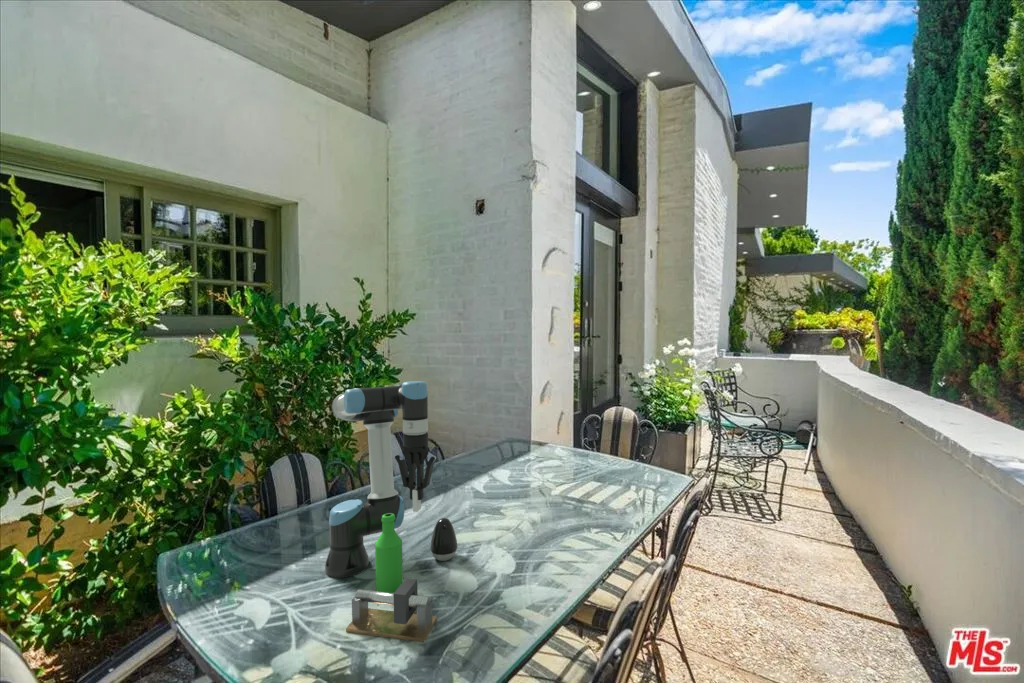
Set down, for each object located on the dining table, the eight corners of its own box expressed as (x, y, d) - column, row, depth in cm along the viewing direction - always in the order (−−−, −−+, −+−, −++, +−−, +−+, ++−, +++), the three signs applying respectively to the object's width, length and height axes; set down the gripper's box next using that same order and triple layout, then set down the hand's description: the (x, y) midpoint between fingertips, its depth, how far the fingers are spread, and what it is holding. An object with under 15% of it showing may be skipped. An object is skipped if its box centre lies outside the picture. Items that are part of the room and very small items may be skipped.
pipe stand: (345, 631, 130) (345, 599, 130) (364, 610, 140) (363, 580, 140) (423, 642, 125) (423, 608, 125) (436, 619, 135) (436, 588, 135)
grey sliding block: (394, 623, 128) (393, 593, 128) (406, 605, 136) (406, 577, 136) (405, 624, 127) (405, 595, 127) (417, 606, 136) (417, 579, 135)
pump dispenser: (432, 566, 166) (431, 525, 166) (429, 553, 176) (428, 514, 176) (459, 562, 169) (458, 522, 169) (455, 549, 179) (454, 511, 179)
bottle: (405, 580, 157) (404, 509, 156) (399, 595, 148) (398, 519, 148) (379, 581, 157) (378, 510, 156) (372, 596, 148) (371, 520, 148)
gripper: (389, 434, 134) (391, 513, 134) (431, 436, 131) (432, 516, 132) (401, 429, 141) (402, 504, 142) (440, 430, 139) (441, 506, 139)
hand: (416, 509), depth 137 cm, fingers closed
